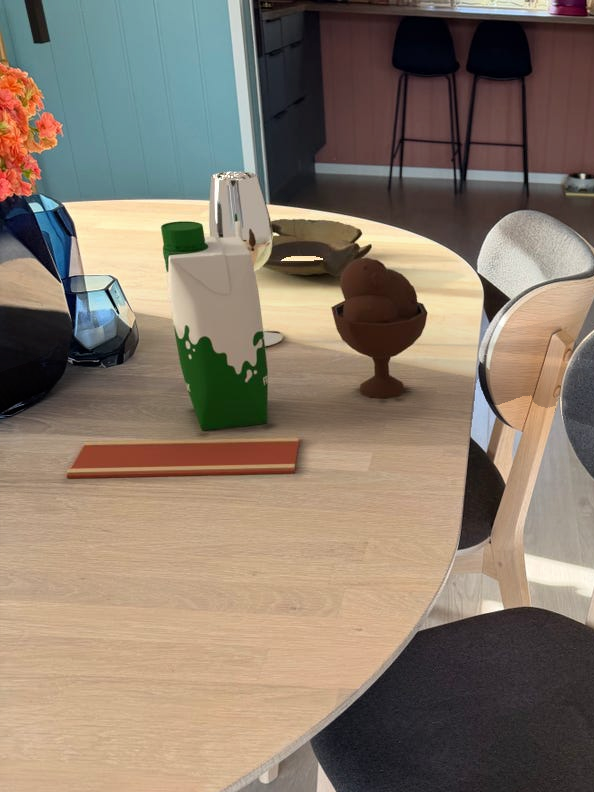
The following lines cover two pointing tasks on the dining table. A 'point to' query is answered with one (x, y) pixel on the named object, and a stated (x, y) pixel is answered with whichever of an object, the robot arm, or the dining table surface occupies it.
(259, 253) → the wineglass
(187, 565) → the dining table surface
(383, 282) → the ice cream bowl
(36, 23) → the robot arm
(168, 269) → the soya milk
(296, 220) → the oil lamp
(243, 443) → the reddish-brown flat board
